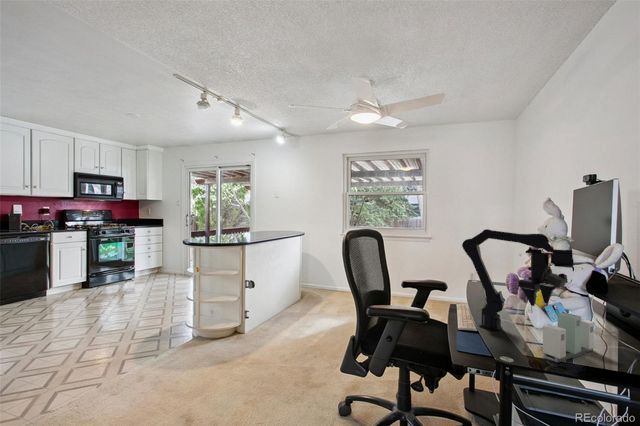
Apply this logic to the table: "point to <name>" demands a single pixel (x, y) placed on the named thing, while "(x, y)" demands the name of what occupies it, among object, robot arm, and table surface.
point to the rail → (567, 355)
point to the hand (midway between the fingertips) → (539, 304)
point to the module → (571, 331)
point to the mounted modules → (557, 338)
